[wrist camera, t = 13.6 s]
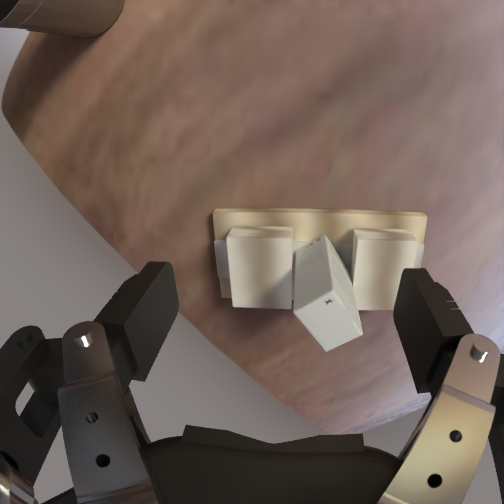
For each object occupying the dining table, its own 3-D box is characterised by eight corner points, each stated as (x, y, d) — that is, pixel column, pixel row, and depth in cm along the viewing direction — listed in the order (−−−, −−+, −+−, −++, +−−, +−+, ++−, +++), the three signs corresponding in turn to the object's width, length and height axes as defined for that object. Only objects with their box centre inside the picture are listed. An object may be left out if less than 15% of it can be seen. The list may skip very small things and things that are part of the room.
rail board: (224, 291, 44) (214, 315, 39) (215, 208, 39) (202, 224, 34) (408, 294, 40) (419, 318, 35) (423, 212, 35) (439, 229, 30)
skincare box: (294, 251, 37) (290, 311, 27) (324, 232, 36) (333, 288, 25) (321, 287, 39) (325, 353, 28) (350, 271, 37) (365, 334, 27)
